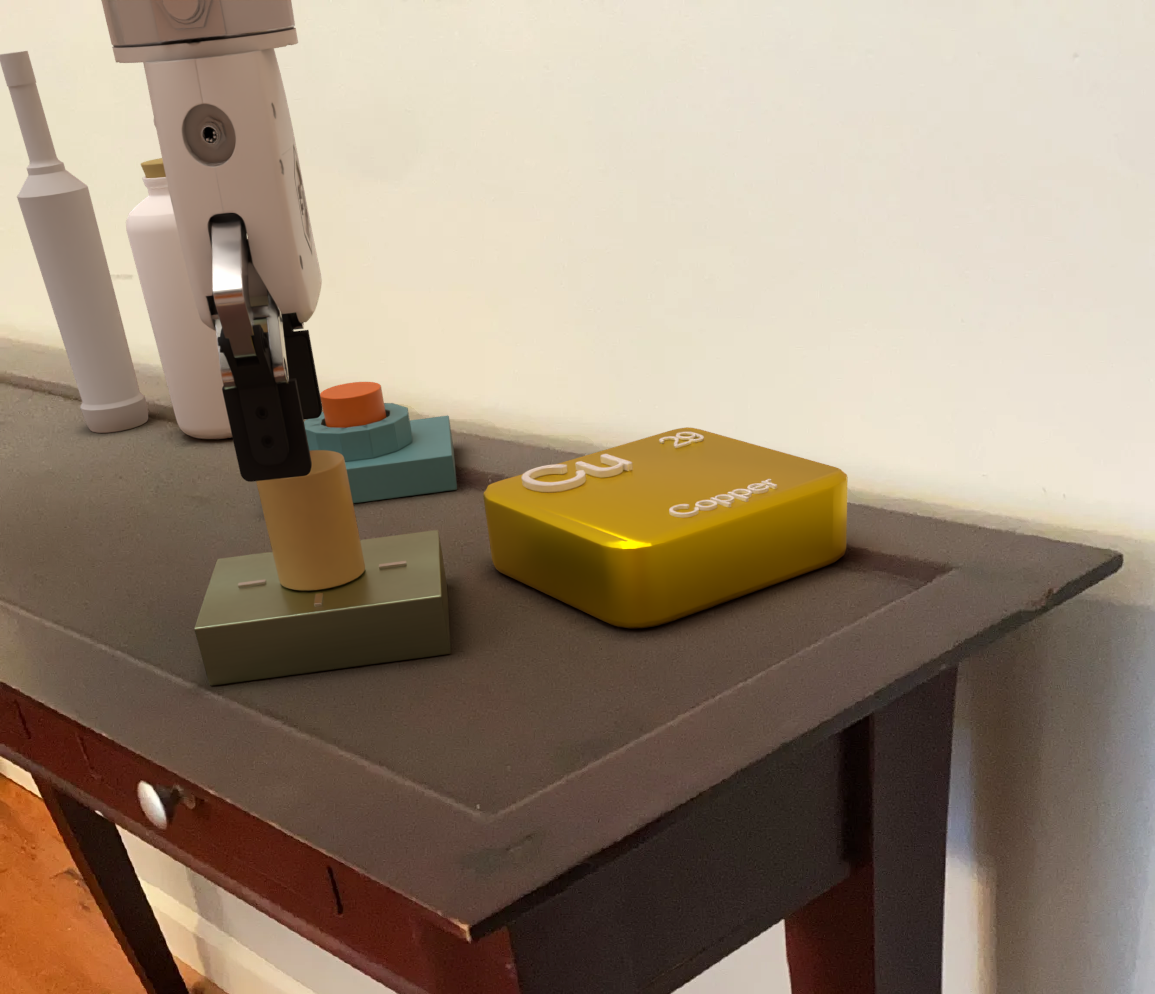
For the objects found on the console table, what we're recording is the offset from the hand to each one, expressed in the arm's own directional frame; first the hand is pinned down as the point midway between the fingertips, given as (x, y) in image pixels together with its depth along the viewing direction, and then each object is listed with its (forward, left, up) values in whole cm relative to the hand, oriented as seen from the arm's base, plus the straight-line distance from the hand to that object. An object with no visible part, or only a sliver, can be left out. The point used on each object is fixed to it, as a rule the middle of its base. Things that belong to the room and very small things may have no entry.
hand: (285, 446), depth 68 cm
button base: (+1, +27, -9) cm, 28 cm away
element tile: (+19, +4, -10) cm, 21 cm away
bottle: (-20, +52, -10) cm, 56 cm away
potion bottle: (-9, +46, -10) cm, 48 cm away
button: (+2, +27, -6) cm, 27 cm away
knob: (+1, 0, -6) cm, 6 cm away
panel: (+1, 0, -9) cm, 9 cm away
